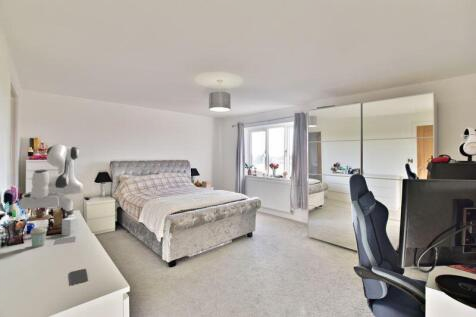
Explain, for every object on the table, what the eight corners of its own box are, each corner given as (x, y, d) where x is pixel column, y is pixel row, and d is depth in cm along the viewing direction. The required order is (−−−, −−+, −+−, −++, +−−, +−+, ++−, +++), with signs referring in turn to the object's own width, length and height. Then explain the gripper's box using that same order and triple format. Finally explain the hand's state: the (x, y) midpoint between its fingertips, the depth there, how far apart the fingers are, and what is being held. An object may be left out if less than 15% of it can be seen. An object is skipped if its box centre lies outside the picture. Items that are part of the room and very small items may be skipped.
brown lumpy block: (48, 237, 167) (49, 210, 168) (40, 233, 175) (41, 208, 176) (71, 232, 180) (72, 207, 181) (63, 229, 188) (64, 205, 188)
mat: (55, 239, 163) (55, 239, 163) (75, 236, 169) (75, 236, 169) (53, 245, 151) (53, 245, 151) (75, 242, 158) (75, 241, 158)
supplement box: (77, 233, 178) (78, 217, 178) (70, 236, 170) (70, 219, 171) (69, 233, 179) (69, 217, 179) (61, 235, 171) (61, 219, 172)
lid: (29, 217, 151) (30, 209, 151) (50, 216, 157) (51, 207, 157) (26, 221, 142) (26, 211, 142) (48, 219, 148) (49, 210, 148)
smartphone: (69, 285, 102) (68, 272, 114) (69, 287, 102) (68, 273, 114) (88, 280, 107) (86, 268, 118) (88, 282, 107) (86, 269, 118)
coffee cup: (36, 249, 144) (37, 230, 144) (26, 248, 146) (26, 229, 146) (49, 244, 152) (50, 227, 153) (39, 243, 154) (40, 226, 154)
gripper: (60, 192, 158) (59, 212, 158) (20, 194, 147) (19, 215, 146) (59, 193, 153) (58, 213, 153) (18, 195, 142) (17, 217, 141)
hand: (39, 214), depth 150 cm, fingers closed on lid, 3 cm apart
